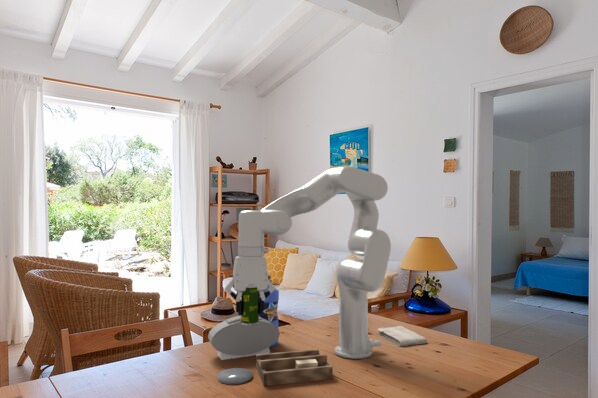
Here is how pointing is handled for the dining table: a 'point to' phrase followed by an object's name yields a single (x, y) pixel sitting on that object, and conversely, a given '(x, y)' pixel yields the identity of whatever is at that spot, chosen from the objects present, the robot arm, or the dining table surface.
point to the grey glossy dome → (235, 376)
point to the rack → (292, 367)
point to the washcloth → (401, 336)
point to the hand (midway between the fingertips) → (249, 313)
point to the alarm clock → (242, 338)
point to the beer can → (250, 306)
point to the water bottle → (271, 308)
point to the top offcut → (306, 363)
